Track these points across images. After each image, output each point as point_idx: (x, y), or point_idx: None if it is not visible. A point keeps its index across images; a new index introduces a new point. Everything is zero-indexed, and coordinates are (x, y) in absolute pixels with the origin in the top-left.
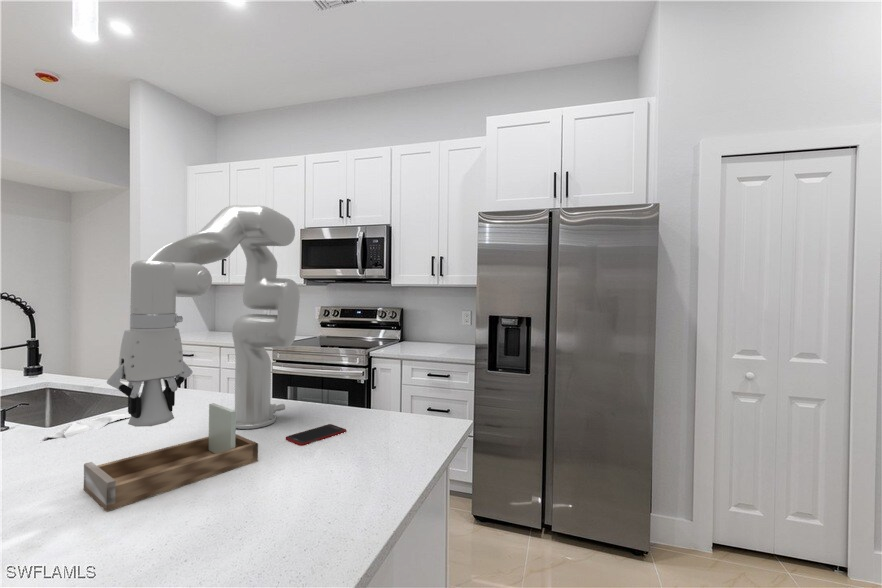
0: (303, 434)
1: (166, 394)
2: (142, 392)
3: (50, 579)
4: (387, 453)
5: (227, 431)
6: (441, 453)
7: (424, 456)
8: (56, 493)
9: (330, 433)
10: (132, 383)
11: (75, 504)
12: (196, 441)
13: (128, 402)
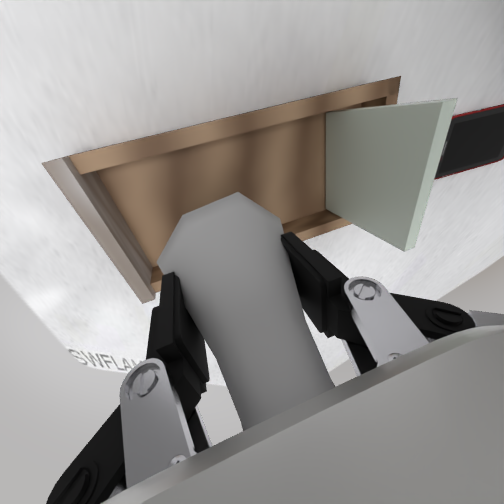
0: (468, 130)
1: (315, 311)
2: (221, 366)
3: (125, 372)
4: (439, 264)
5: (364, 214)
6: (454, 286)
7: (443, 285)
8: (4, 136)
9: (483, 158)
10: (162, 466)
11: (85, 225)
12: (317, 113)
13: (151, 345)
